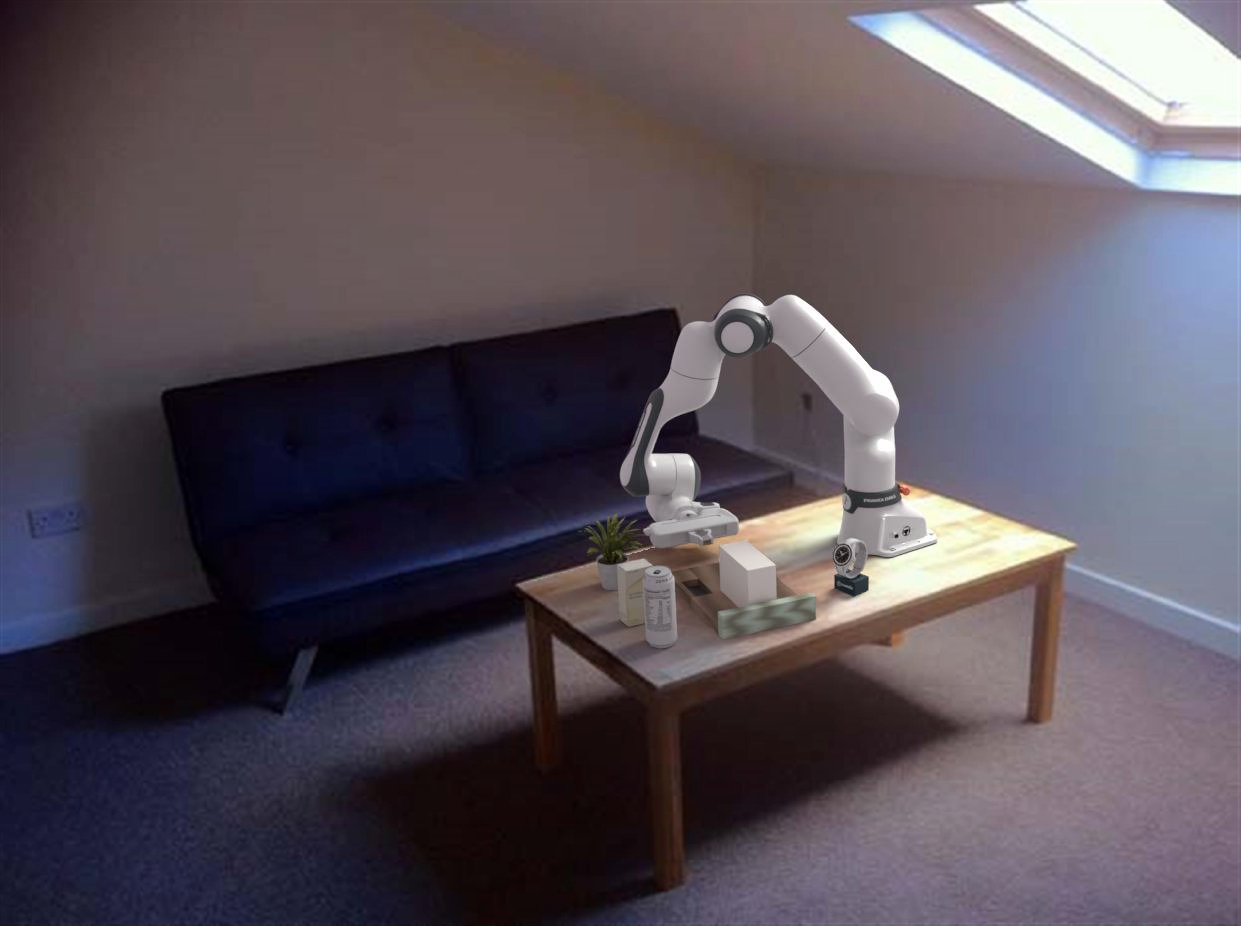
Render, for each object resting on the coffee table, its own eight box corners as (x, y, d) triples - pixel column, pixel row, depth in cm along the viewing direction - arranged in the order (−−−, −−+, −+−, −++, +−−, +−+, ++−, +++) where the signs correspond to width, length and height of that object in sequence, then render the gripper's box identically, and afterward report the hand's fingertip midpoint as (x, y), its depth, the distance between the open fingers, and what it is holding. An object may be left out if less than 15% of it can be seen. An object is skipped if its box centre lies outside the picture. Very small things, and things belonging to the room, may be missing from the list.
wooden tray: (751, 564, 247) (750, 543, 245) (815, 619, 219) (815, 596, 218) (666, 580, 241) (665, 559, 239) (722, 639, 214) (721, 615, 212)
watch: (827, 591, 231) (827, 542, 228) (853, 579, 236) (853, 531, 232) (848, 599, 227) (849, 549, 223) (874, 587, 232) (875, 538, 228)
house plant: (605, 608, 230) (600, 534, 225) (565, 588, 240) (559, 518, 235) (657, 586, 238) (653, 515, 233) (616, 568, 249) (612, 500, 244)
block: (746, 584, 232) (745, 540, 229) (776, 611, 219) (775, 564, 216) (720, 590, 230) (718, 545, 227) (748, 617, 217) (747, 570, 214)
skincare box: (628, 627, 221) (624, 571, 217) (619, 619, 225) (615, 563, 221) (656, 620, 223) (653, 564, 219) (647, 612, 227) (644, 557, 223)
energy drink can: (681, 636, 216) (678, 565, 211) (671, 651, 210) (667, 578, 206) (652, 633, 218) (648, 562, 213) (641, 647, 213) (637, 575, 208)
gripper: (639, 515, 250) (661, 536, 238) (723, 501, 256) (749, 520, 244) (641, 541, 252) (663, 563, 240) (724, 526, 258) (749, 547, 246)
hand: (707, 542), depth 242 cm, fingers closed
